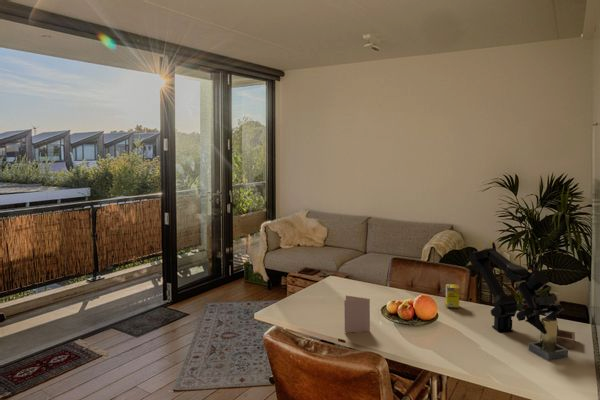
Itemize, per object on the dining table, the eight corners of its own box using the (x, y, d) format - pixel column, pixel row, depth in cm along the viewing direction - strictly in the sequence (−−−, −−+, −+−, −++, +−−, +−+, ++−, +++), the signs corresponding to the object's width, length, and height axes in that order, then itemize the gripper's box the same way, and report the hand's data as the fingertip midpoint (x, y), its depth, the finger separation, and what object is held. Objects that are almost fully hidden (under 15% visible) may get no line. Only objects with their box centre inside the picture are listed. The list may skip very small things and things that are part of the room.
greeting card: (370, 330, 196) (370, 298, 194) (364, 337, 189) (364, 303, 187) (346, 326, 201) (346, 294, 199) (340, 332, 194) (340, 299, 193)
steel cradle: (548, 361, 165) (548, 353, 164) (528, 350, 174) (528, 343, 173) (567, 357, 167) (568, 349, 167) (547, 346, 176) (547, 339, 176)
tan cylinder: (539, 348, 169) (540, 321, 168) (540, 343, 174) (541, 316, 173) (555, 351, 166) (557, 324, 165) (556, 346, 171) (557, 319, 170)
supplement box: (459, 309, 219) (459, 288, 218) (446, 308, 221) (447, 287, 219) (457, 304, 225) (457, 284, 224) (445, 304, 226) (445, 283, 225)
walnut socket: (548, 343, 179) (548, 335, 178) (549, 335, 186) (549, 327, 186) (574, 348, 174) (574, 340, 174) (574, 340, 182) (574, 332, 181)
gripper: (523, 289, 169) (545, 327, 159) (561, 283, 174) (584, 320, 165) (507, 301, 177) (527, 339, 168) (544, 296, 182) (565, 332, 173)
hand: (551, 332), depth 168 cm, fingers closed on tan cylinder, 5 cm apart
